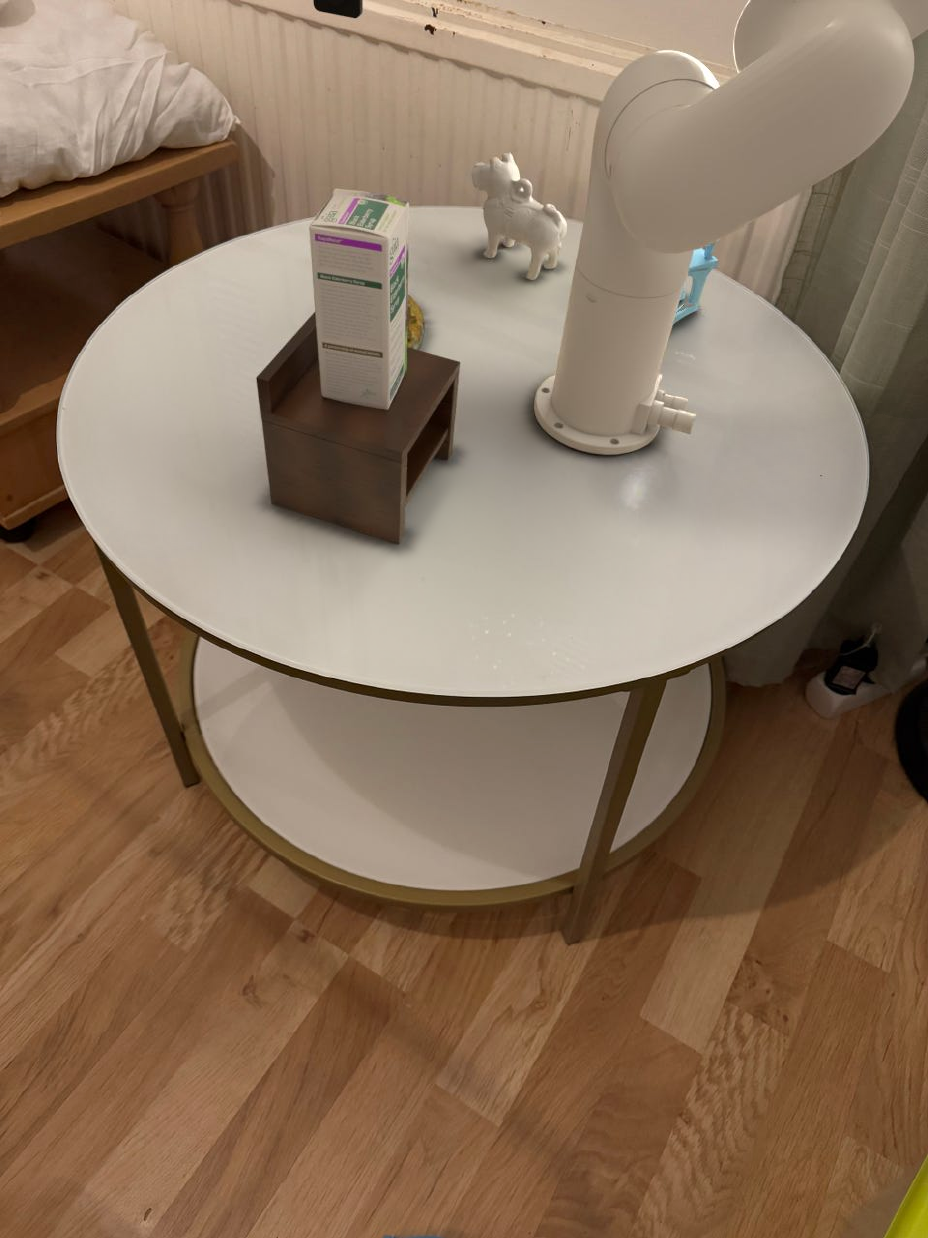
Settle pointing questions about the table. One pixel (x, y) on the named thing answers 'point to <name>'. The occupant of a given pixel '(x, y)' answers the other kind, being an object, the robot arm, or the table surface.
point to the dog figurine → (517, 214)
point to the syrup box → (361, 295)
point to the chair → (697, 277)
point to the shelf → (353, 438)
